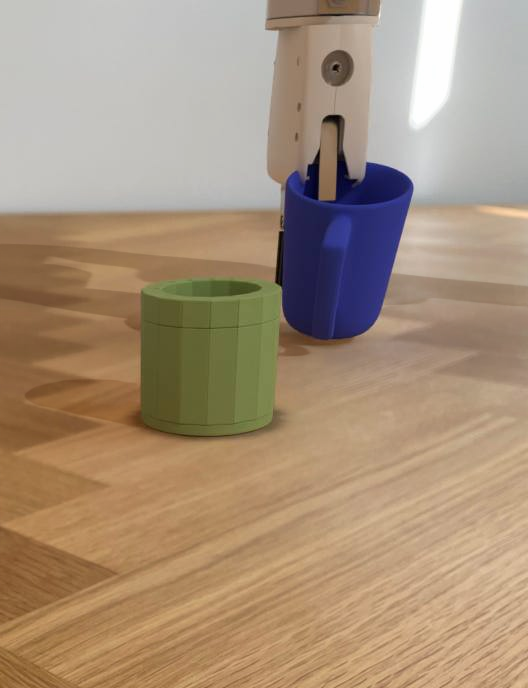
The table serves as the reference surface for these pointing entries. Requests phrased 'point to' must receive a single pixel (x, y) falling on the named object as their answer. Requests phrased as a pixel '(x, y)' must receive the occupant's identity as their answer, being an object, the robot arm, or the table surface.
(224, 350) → the green open cylindrical container
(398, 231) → the mug
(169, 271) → the table surface
